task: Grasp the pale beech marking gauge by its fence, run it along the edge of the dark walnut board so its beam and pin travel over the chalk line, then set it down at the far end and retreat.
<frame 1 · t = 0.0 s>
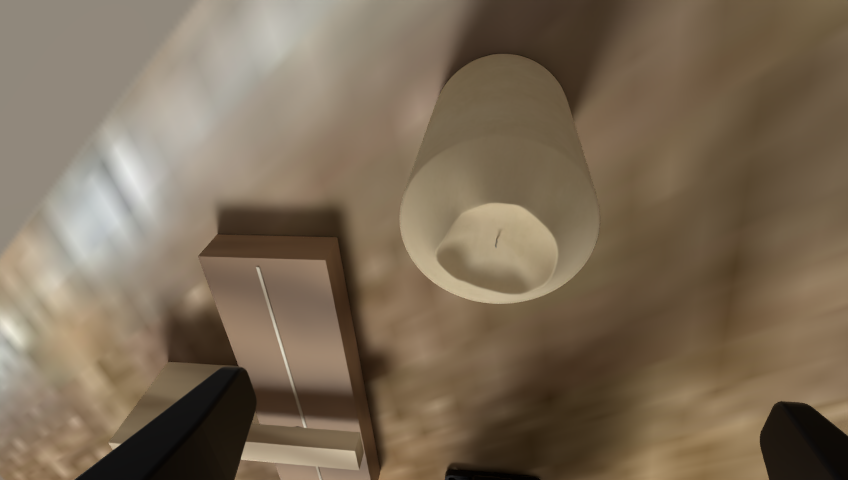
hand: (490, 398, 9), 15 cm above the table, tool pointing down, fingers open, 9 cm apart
candle: (500, 118, 21), on the table
gauge: (212, 385, 34), on the table
board: (311, 371, 32), on the table
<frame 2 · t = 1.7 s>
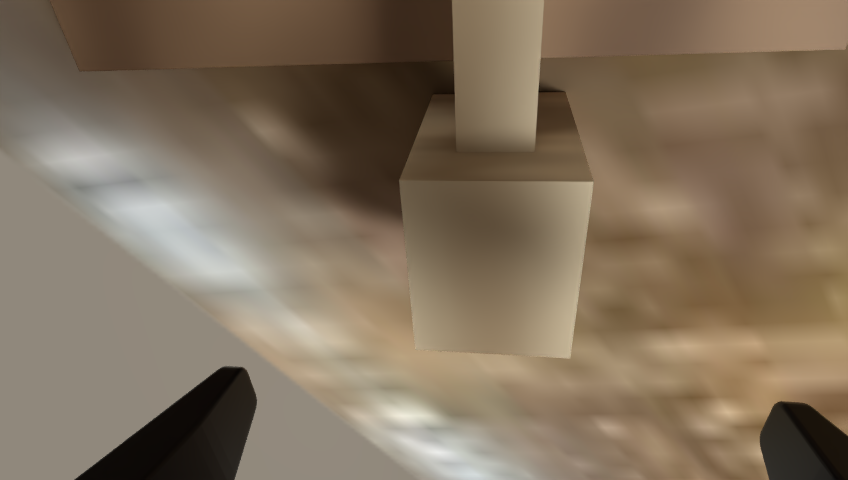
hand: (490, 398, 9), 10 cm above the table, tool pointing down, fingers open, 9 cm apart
gauge: (496, 167, 17), on the table
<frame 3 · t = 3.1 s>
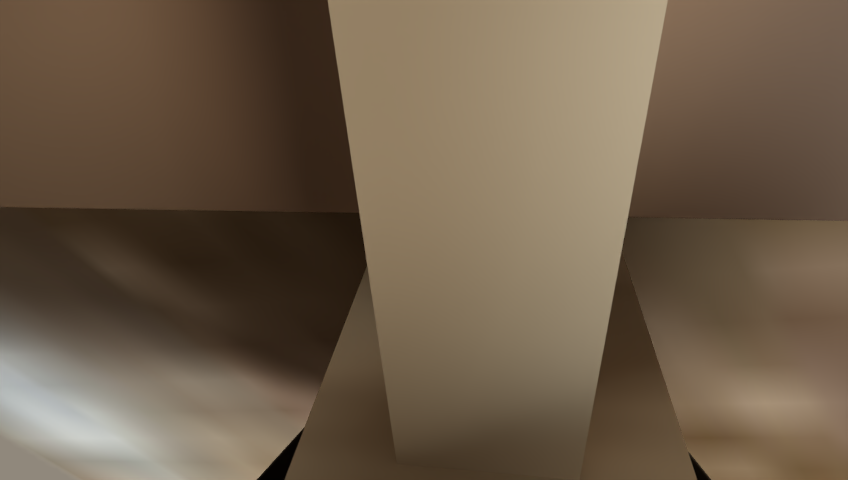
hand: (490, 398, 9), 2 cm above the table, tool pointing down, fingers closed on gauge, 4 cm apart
gauge: (492, 336, 10), on the table, touching gripper
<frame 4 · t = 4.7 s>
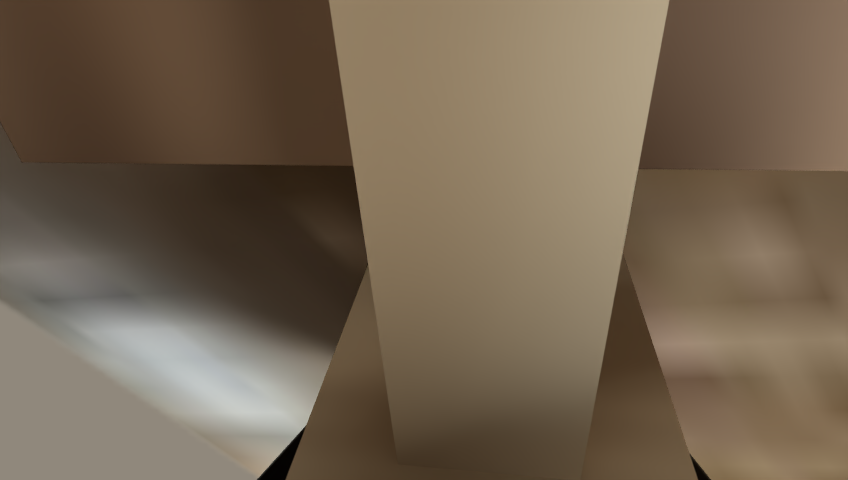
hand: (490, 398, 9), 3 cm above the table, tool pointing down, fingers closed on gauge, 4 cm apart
gauge: (493, 337, 10), point 1 cm above the table, touching gripper
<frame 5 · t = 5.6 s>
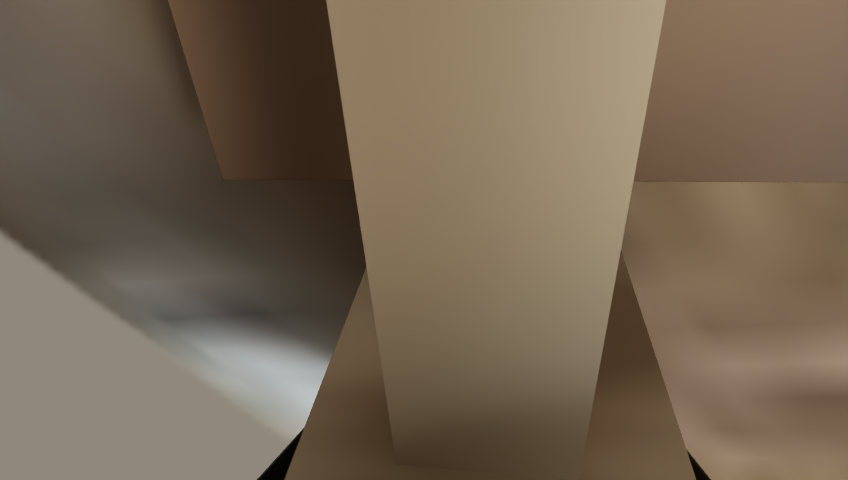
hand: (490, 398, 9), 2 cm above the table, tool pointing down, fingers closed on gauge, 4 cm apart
gauge: (492, 337, 10), point 1 cm above the table, touching gripper
when the fingers open (2 cm above the table, at t = 6.3 s): gauge stays where it is, on the table.
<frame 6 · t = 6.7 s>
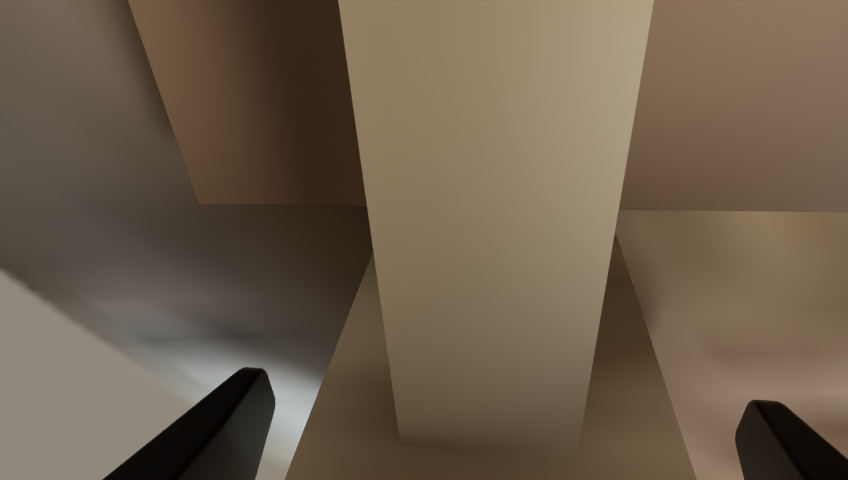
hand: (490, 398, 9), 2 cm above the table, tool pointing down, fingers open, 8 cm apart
gauge: (493, 329, 10), on the table
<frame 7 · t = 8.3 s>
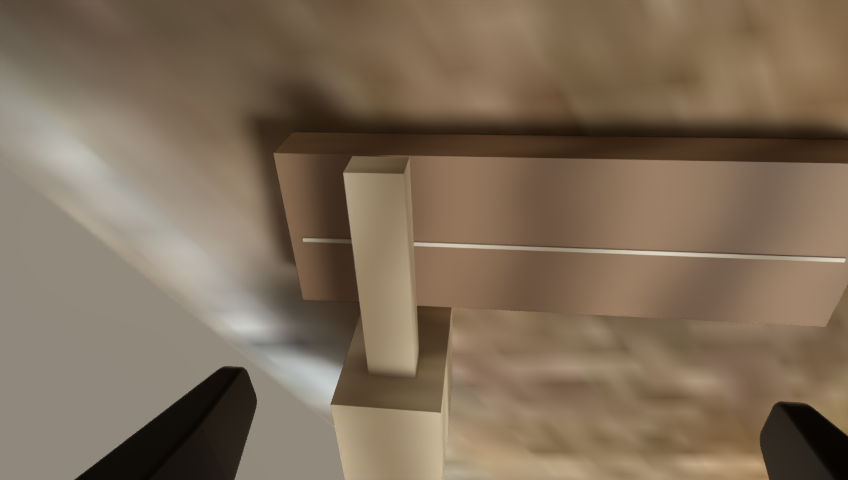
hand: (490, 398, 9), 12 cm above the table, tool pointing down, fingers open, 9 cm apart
gauge: (410, 341, 24), on the table
board: (553, 215, 20), on the table
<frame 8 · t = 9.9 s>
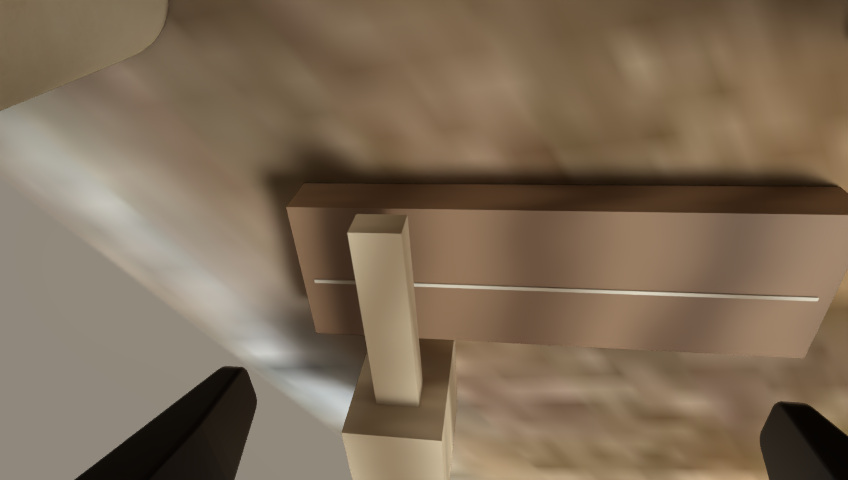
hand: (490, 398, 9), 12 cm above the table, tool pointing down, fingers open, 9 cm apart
gauge: (417, 366, 26), on the table
board: (545, 254, 21), on the table
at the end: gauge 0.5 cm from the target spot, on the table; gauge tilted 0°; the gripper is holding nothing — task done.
